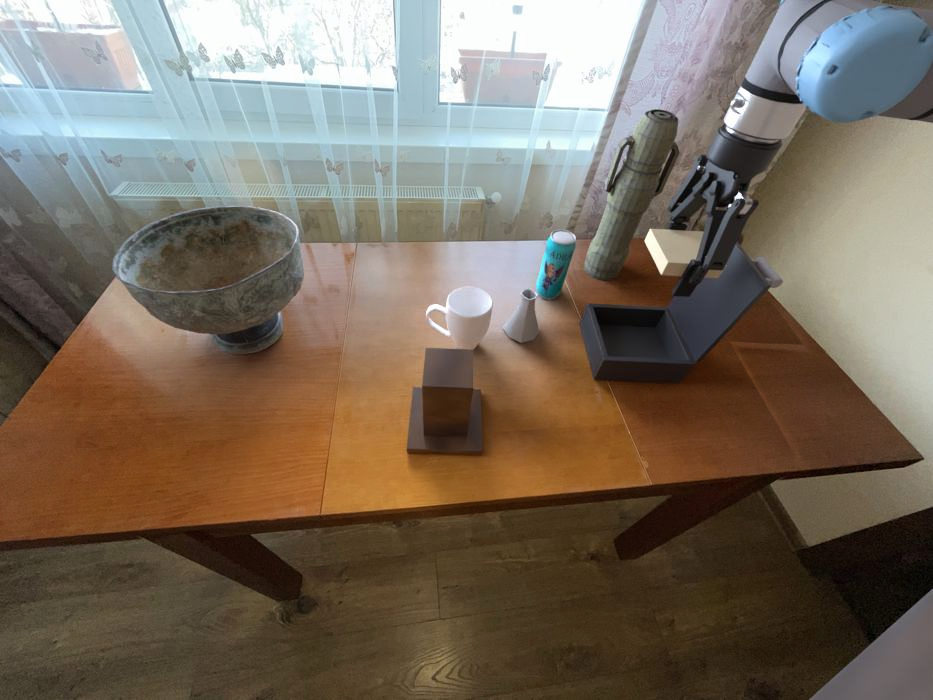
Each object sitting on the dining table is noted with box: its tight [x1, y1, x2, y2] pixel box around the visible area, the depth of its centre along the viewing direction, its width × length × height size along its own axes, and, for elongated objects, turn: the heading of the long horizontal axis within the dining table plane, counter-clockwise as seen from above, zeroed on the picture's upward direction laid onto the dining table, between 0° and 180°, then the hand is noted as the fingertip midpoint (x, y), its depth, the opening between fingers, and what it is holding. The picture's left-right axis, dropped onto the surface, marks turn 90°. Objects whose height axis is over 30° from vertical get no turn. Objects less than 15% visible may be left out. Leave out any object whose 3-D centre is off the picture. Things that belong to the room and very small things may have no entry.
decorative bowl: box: [111, 205, 305, 355], centre depth 72 cm, size 26×26×20 cm
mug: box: [425, 286, 494, 351], centre depth 75 cm, size 12×8×11 cm
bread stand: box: [406, 347, 484, 456], centre depth 62 cm, size 12×12×15 cm
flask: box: [502, 287, 540, 344], centre depth 80 cm, size 7×7×10 cm
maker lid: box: [667, 242, 784, 364], centre depth 70 cm, size 18×15×7 cm
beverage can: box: [535, 229, 577, 301], centre depth 86 cm, size 6×6×15 cm
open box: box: [578, 302, 697, 384], centre depth 79 cm, size 17×15×6 cm
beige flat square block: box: [643, 228, 727, 278], centre depth 63 cm, size 9×9×2 cm
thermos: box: [583, 108, 680, 281], centre depth 86 cm, size 9×12×35 cm
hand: (670, 275), depth 67 cm, fingers closed on beige flat square block, 9 cm apart
